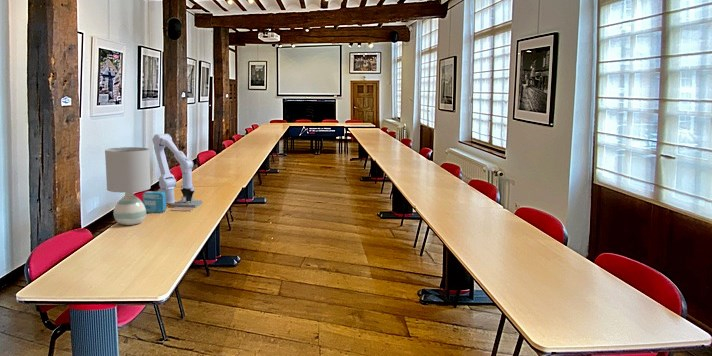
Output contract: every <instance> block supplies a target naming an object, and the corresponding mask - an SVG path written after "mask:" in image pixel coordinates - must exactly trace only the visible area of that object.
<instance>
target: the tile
mask: <svg viewBox="0 0 712 356" xmlns="http://www.w3.org/2000/svg"><path fill="white" fill-rule="evenodd" d="M195 209H196V208H190V207H175V208H173V207H172V209H170V212H192V211H193V210H195Z"/></svg>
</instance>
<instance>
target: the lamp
mask: <svg viewBox="0 0 712 356" xmlns="http://www.w3.org/2000/svg"><path fill="white" fill-rule="evenodd" d="M104 154H105V155H104V156H105V176H106V190H107V191H108V192H111V193H124V196H122V197H121V198H120V199H119V200H118V201H117V203H115V204H116V205H115V206H114V208H113V218H114V220H115V221H116V222H117V223H118V224H119V225H122V226H123V225H124V226H134V225H135V226H136V225H138V224H140V223H142V222H143V221H144V220H145V219H146V216H147V213H146V208H145V206H144V204H143V200H141V198H139V197H137V196H136V195H135V194H134V193H137V192H144V191H149V190H150V189H151V164H150V163H151V162H150V149H149V148H147V147H139V146H136V147H135V146H125V147H124V146H123V147H121V146H120V147H110V148H105V149H104Z"/></svg>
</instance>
